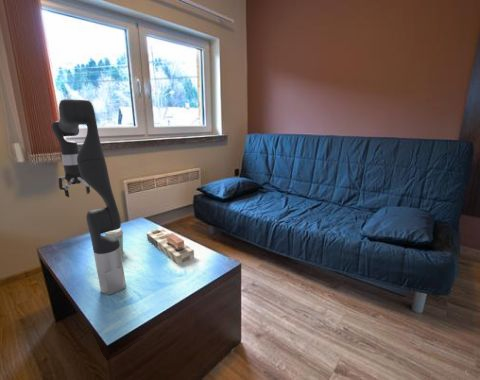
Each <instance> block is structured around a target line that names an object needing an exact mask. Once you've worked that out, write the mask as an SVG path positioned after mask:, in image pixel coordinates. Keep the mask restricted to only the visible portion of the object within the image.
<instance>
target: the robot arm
mask: <svg viewBox="0 0 480 380" xmlns="http://www.w3.org/2000/svg"><path fill="white" fill-rule="evenodd" d="M58 114H59V119H58V120H56V121H55V120H54V121H53V122H52V124H51V129H52V132H53V134H54V136H55V138H56V139H57V141H58V145H59V147H60V153H61V160H62V165H63V171H64V176H58V177H57V182H58V188H59V190H62V191H64V195H65V197H67V198H70V192H69V188H70V186H71V185H76V184H77V185H78V184H81V183H82V184H83V185H85V192H86V195H90V192H91V189H90V187H91V188H92V189H93V190H94V191H95V192H96V193H97V194H98V195H99V196H100V197H101V199H102V200H103V202H104V204H105V206H106V207H101V208H97V209H92V210H89V211H87V213H86V223H87V228H88V230H89V231H88V232H89V236H90V240H91V245H92V250H93V256H94V261H95V267H96V273H97V279H98V283H99V289H100V293H102V294H105V295H108V296H110V295H112V294H115V293H117V292H120V291H123V290H125V289H126V288H125V286H126V278H125V277H126V276H125V271H124V264H123V258H122V253H121V249H120V243H119V240H118V238H116V237H107V236H105V235H102V234H105V232H109V231H113V230H117V229H119V228H121V226H122V220H121V216H120V211H119V208H118V205H117V203H116V199H115V196H114V193H113V189H112V185H111V181H110V175H109V171H108V166H107V162H106V159H105V155H104V150H103V148H102V144H101V140H100V135H99V129H98V125H97V118H96V111H95V108H94V105H93V103H92V102H91V101H90V100H89V99H80V98H79V99H77V98H76V99H75V98H73V99H71V98H65V99H64V98H63V99H62V100H60V101H59V105H58ZM82 125H86V127H87V128H86V129H87V131H86V132H87V133H86V136H85V139H84V141H83V142H82V145H81V147H80V149H79V146H78V145H79V144H78V143H77V142H76V141H72V140H67V139H65V137H75V136H76V137H77V136H78V135H79V134H80V128H79V126H82ZM64 180H65V181H67V182H66V184H65V186H63V182H64Z"/></svg>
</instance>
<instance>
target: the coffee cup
mask: <svg viewBox="0 0 480 380" xmlns="http://www.w3.org/2000/svg"><path fill="white" fill-rule="evenodd" d="M123 234H124V231H123V229H122V228H121V227H120V228H119V229H117V230H113V231H109V232H105V233H104V236H107V237H116V238H118V240H119V243H120V249H121V252H122V253H123V251H124V236H123Z"/></svg>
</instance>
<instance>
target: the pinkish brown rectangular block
mask: <svg viewBox="0 0 480 380" xmlns="http://www.w3.org/2000/svg"><path fill="white" fill-rule="evenodd" d="M166 240H167V243H168V245H174V246H175V247H176V251H177V252H179V251H182V250H184V244H185V241H184V239H182V238H181V237H179V236H178V235H176V234H175V233H173V232H172V233H169V234H168V235H166Z"/></svg>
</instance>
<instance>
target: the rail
mask: <svg viewBox="0 0 480 380" xmlns="http://www.w3.org/2000/svg"><path fill="white" fill-rule="evenodd" d="M168 234H170V233H169V232H168V231H166V230H164V229H163V228H158V229H155V230H151V231H148V232H146V240H147V241H148V242H149V243H150V244H151V245H154V246H155V247H156V248H157V249H159V250H160V251H161V252H162V253H163V254H165V256H167V257H168V258H169V259H171V260H172V261H173V262H174V263H175V264H177V265H179V264H182V263H185V262H186V261H189V260H192V259H194V258H195V251H194V249H193V248H191V246H188V245H187V244H186V243H184V250H182V251H179V252H177V251H176V247H175V246H174V245H168V243H167V240H166V235H168Z"/></svg>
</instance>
